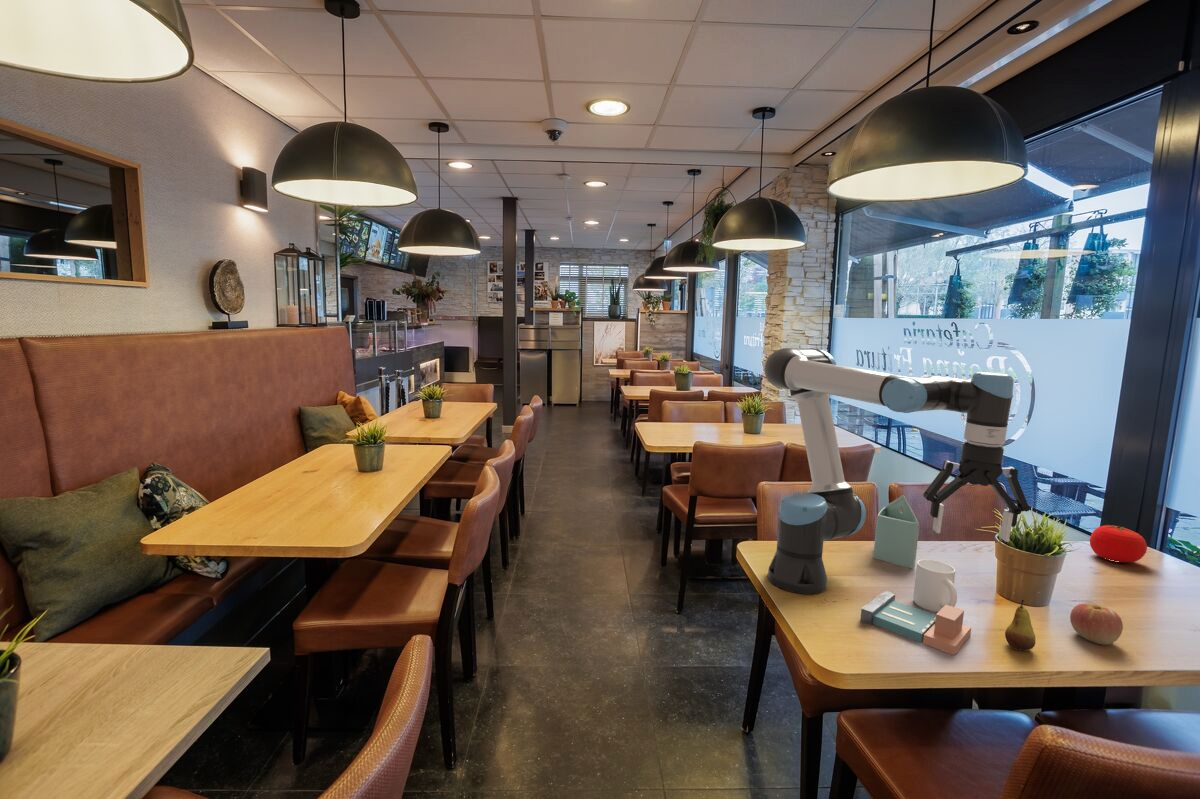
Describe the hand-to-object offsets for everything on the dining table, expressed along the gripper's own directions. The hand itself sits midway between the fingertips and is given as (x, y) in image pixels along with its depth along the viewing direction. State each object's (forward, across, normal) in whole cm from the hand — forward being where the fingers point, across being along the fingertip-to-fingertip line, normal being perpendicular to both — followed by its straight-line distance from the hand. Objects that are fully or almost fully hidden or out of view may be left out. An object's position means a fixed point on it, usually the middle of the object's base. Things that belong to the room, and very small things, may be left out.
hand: (969, 535), depth 127 cm
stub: (+23, -4, -6) cm, 24 cm away
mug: (+23, -1, +10) cm, 25 cm away
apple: (+23, +30, +5) cm, 37 cm away
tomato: (+23, +65, +64) cm, 94 cm away
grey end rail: (+23, -16, +2) cm, 28 cm away
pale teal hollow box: (+24, -6, +42) cm, 48 cm away
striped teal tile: (+23, -12, 0) cm, 26 cm away
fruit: (+23, +11, -5) cm, 26 cm away
